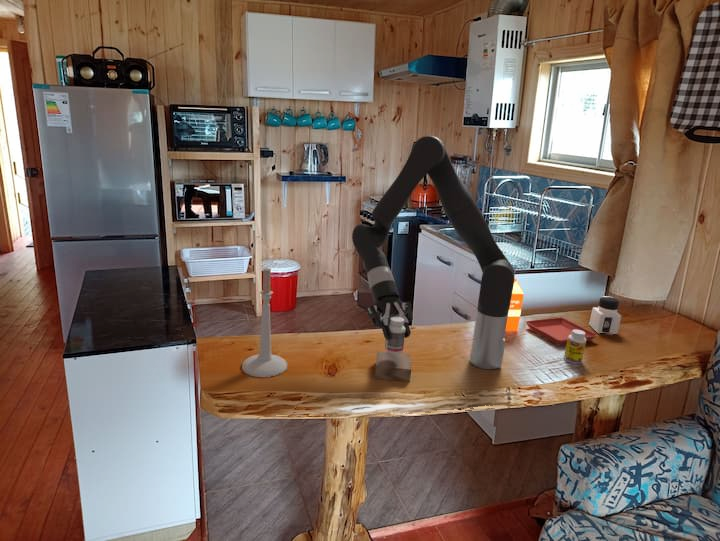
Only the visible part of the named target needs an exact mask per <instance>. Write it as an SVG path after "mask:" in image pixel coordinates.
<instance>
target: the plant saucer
mask: <svg viewBox="0 0 720 541" xmlns="http://www.w3.org/2000/svg"><path fill="white" fill-rule="evenodd" d="M525 324H526V326H527V327H528V328H529V330H531V331H532V330H533V331H532V332H534V333H536V334H537V333H538V334H537V335H539V334H540V335H539V336H541V337H543V338H545V339H546V340H548V341H550V342H552V344H555V345H556V346H564V345H567V340H568V336H569V335H571V333H572V330H575V329H576V330H581V331H584V332H585V338H586V341H588V342H590V341H593V339H595V338H596V337H598V333H597V334H596V333H595V332H592V331H591V330H588V329H586V328H584V327H582V326H580V325H579V324H577V323H574V322H573V321H570V320H568V319H567V318H565V317H561V316H560V317H552V318H550V317H549V318H544V319H543V318H542V319H534V320H526V321H525Z"/></svg>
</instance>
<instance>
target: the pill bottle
mask: <svg viewBox="0 0 720 541" xmlns="http://www.w3.org/2000/svg"><path fill="white" fill-rule="evenodd" d="M403 325H404V319H403V318H401V317H390V320H389V323H388V325H387V326H389V328H390V332H391V335H392V338H391V339H390V340H387V339H385V342H384V344H385V345H384V350H385V352H389V353H393V354H398V353H403V351H404V347H405V339H406V338H405V330H406V329H405V327H404V326H403Z"/></svg>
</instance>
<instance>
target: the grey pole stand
mask: <svg viewBox="0 0 720 541" xmlns="http://www.w3.org/2000/svg"><path fill="white" fill-rule="evenodd" d="M262 272H263V274H262V276H263V277H262V290H260V291H259V293H260V294H261V300H262V302H263V303H262V304H261V305H262V307H261V308H262V310H261V319H260V320H261V322H260V334H259V336H260V337H259V348H258V354H254V355H251V356H249V357H247V358H246V359H245V360H244V361H243V362H242V364H241V365H242V366H241V369H242V371H243V372H244V373H246V374H247V375H249V376H252V377H255V378H272V377H271V376H274V377H276V375H277V376H280V375H281V373H282V374H284V373H285V372H286V371H285V370H287V369H288V362H287V361H286V360H285V359H284V358H283V357H281V356H279V355H276V354H273V353H272V340H271V339H272V338H271V337H272V336H271V304H270V301H271V299H272V294H273V293H274V292H273V291H272V290H271V277H272V276H271V275H272V274H271V272H272V271H271V268H268V267H266V268H263V269H262ZM284 371H285V372H284ZM279 374H280V375H279Z"/></svg>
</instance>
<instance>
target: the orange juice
mask: <svg viewBox="0 0 720 541" xmlns="http://www.w3.org/2000/svg"><path fill="white" fill-rule="evenodd" d="M524 296H525V293H524V291H523V290H522V288H521V286H520V283H519V281H518V279H517V278H515V277H514V285H513V291H512V297H511V303H510V308H509V312H508V318H507V324H506V330H505V331H517V332H518V330H519V324H520V317H521V313H522V306H523V302H524V301H523V300H524Z"/></svg>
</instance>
